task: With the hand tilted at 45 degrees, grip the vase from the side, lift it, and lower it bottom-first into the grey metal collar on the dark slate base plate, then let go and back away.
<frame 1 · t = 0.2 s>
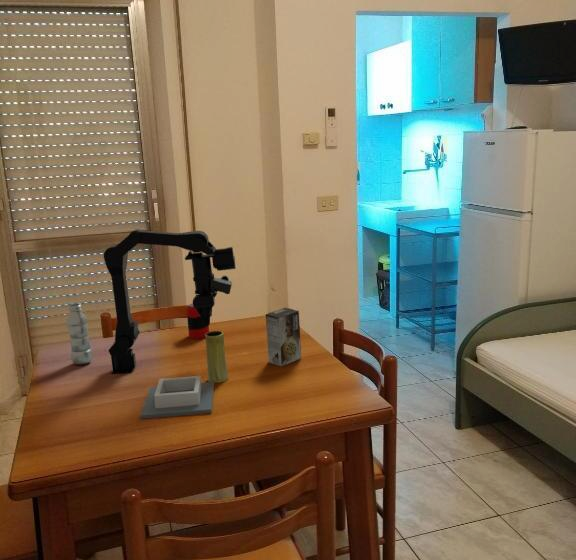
hand: (208, 320, 174), 14 cm above the table, tool pointing down, fingers open, 9 cm apart
holder: (179, 400, 151), on the table
soda can: (199, 336, 206), on the table
vase: (217, 379, 165), on the table
plastic bottle: (83, 363, 183), on the table
coffee box: (284, 361, 177), on the table
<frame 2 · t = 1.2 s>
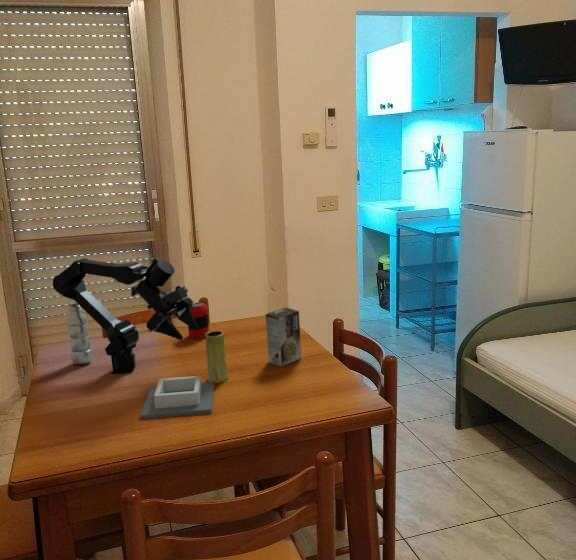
hand: (190, 334, 165), 14 cm above the table, tool tilted 45°, fingers open, 9 cm apart
nothing on the table moved.
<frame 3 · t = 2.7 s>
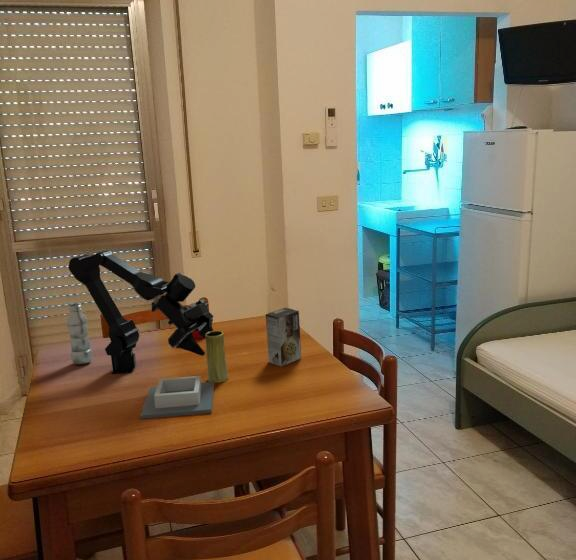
hand: (211, 349, 163), 9 cm above the table, tool tilted 45°, fingers open, 9 cm apart
nothing on the table moved.
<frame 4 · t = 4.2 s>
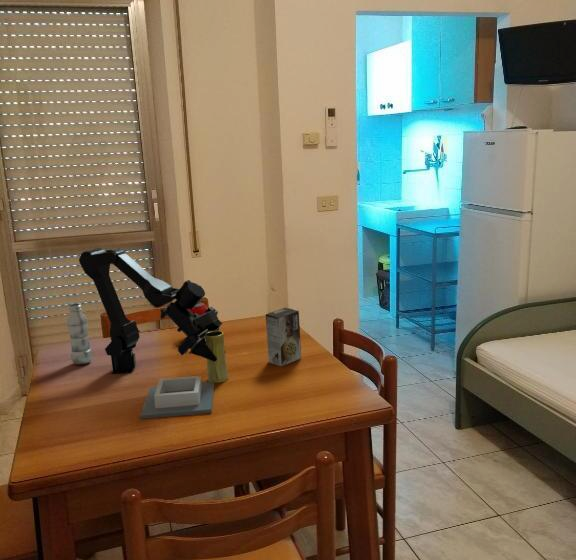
hand: (220, 357, 163), 7 cm above the table, tool tilted 45°, fingers closed on vase, 5 cm apart
vase: (217, 379, 165), on the table, touching gripper
everything else where it was.
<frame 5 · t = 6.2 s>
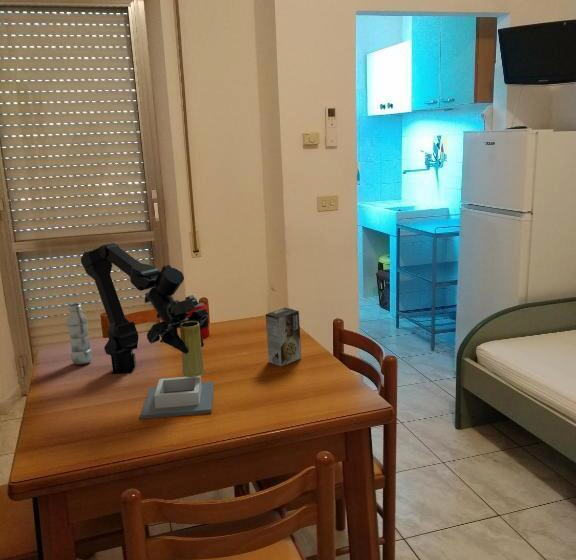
hand: (195, 349, 152), 13 cm above the table, tool tilted 45°, fingers closed on vase, 5 cm apart
vase: (193, 373, 154), point 6 cm above the table, touching gripper
everything else where it was.
when the fingers open (9 cm above the table, at t = 8.3 s): vase drops 1 cm, resting on holder.
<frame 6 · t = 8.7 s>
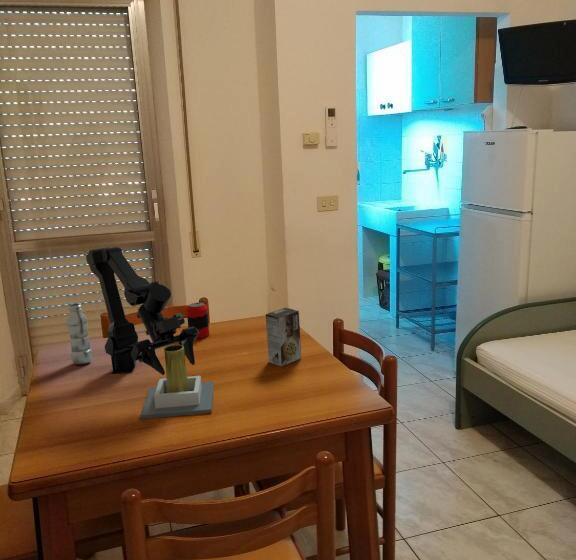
hand: (179, 369, 148), 10 cm above the table, tool tilted 45°, fingers open, 9 cm apart
vase: (178, 397, 151), point 1 cm above the table, touching holder
everything else where it was.
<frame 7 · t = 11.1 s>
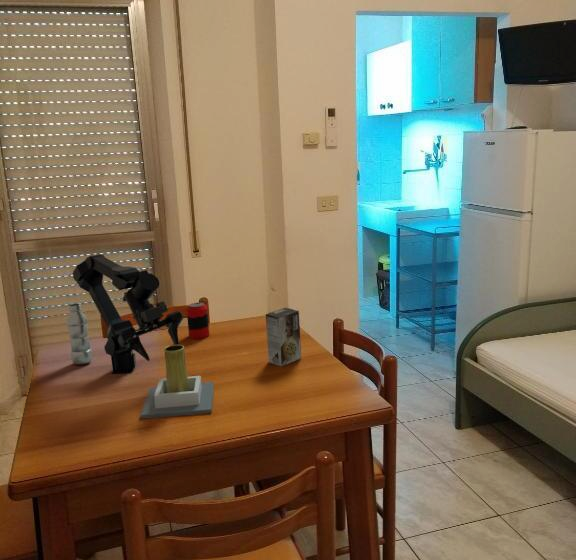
hand: (163, 354, 157), 10 cm above the table, tool tilted 35°, fingers open, 9 cm apart
nothing on the table moved.
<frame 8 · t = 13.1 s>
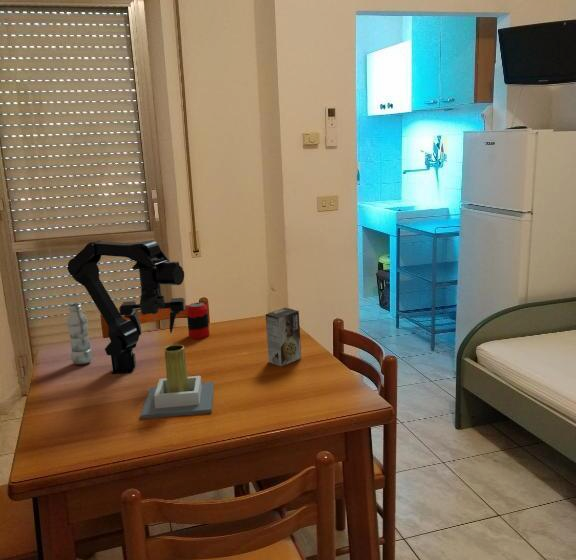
hand: (155, 333, 168), 13 cm above the table, tool pointing down, fingers open, 9 cm apart
nothing on the table moved.
at the end: vase 0.2 cm off-centre on the holder, point 0.8 cm above the holder's base; vase tilted 0°; the gripper is holding nothing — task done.
